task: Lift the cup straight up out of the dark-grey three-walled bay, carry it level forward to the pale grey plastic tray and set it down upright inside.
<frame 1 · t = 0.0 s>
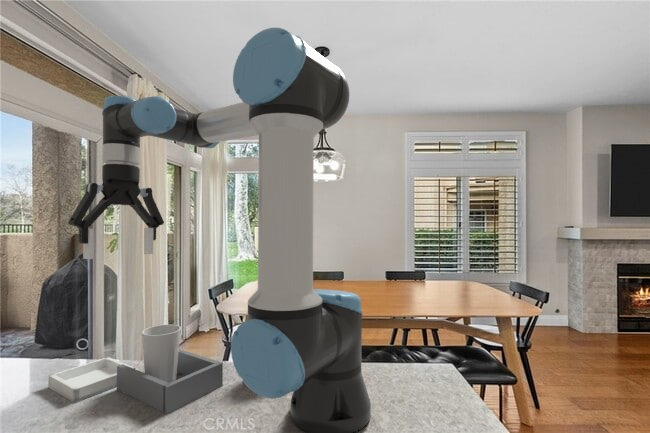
hand: (120, 256, 81), 28 cm above the countertop, fingers open, 13 cm apart
tray: (93, 383, 78), on the countertop
bay: (161, 383, 78), on the countertop
cup: (161, 384, 77), on the countertop
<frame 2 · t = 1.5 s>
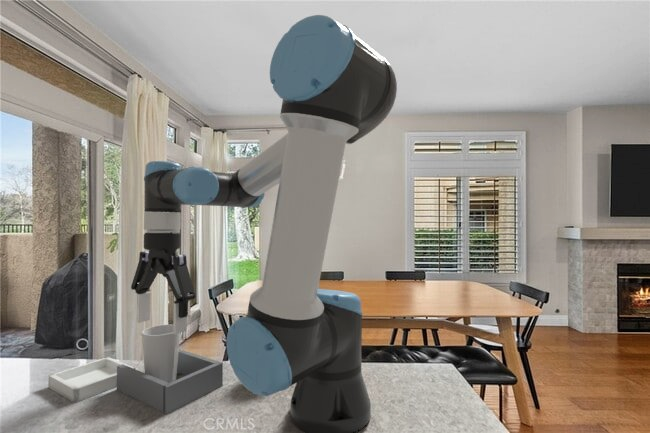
hand: (160, 326, 78), 13 cm above the countertop, fingers open, 13 cm apart
nothing on the countertop moved.
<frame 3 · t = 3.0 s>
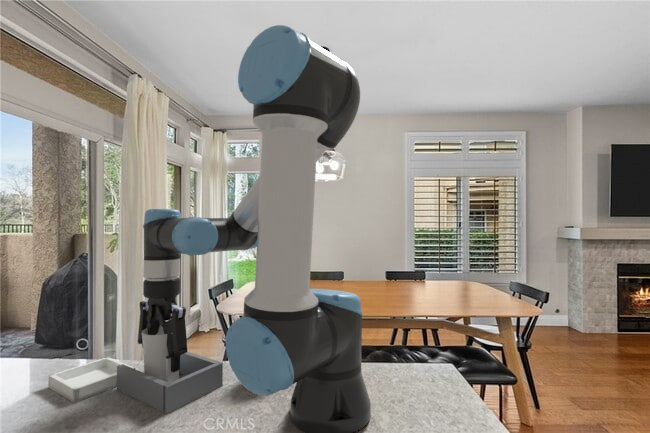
hand: (161, 380, 78), 1 cm above the countertop, fingers closed on cup, 7 cm apart
cup: (161, 384, 78), on the countertop, touching gripper
everything else where it was.
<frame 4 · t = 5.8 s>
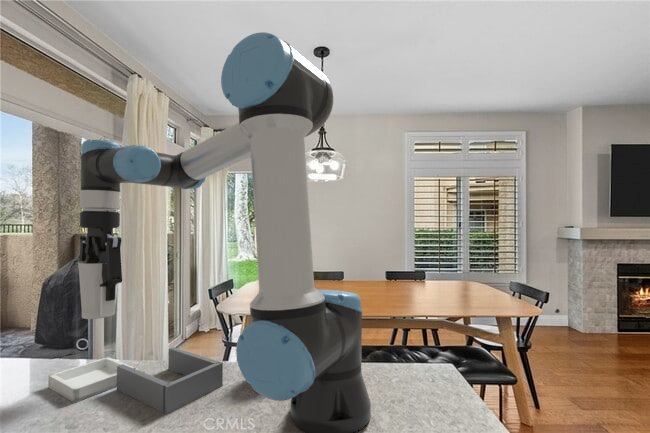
hand: (98, 312, 78), 16 cm above the countertop, fingers closed on cup, 7 cm apart
cup: (98, 315, 78), point 15 cm above the countertop, touching gripper
everything else where it was.
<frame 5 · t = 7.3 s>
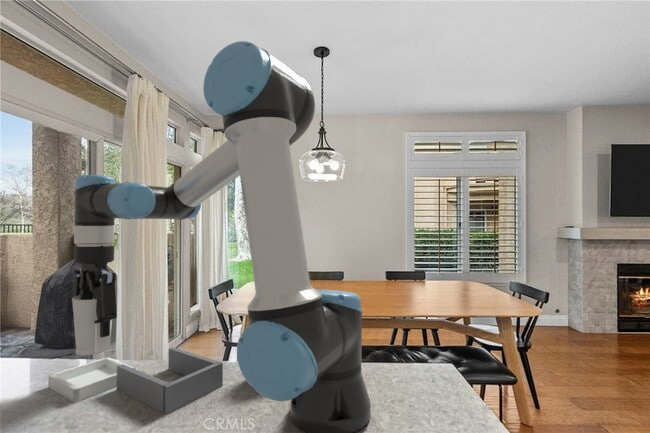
hand: (93, 347, 78), 8 cm above the countertop, fingers closed on cup, 7 cm apart
cup: (93, 350, 78), point 7 cm above the countertop, touching gripper
everything else where it was.
when the fingers open (3 cm above the countertop, at t = 8.6 s): cup drops 2 cm, resting on tray.
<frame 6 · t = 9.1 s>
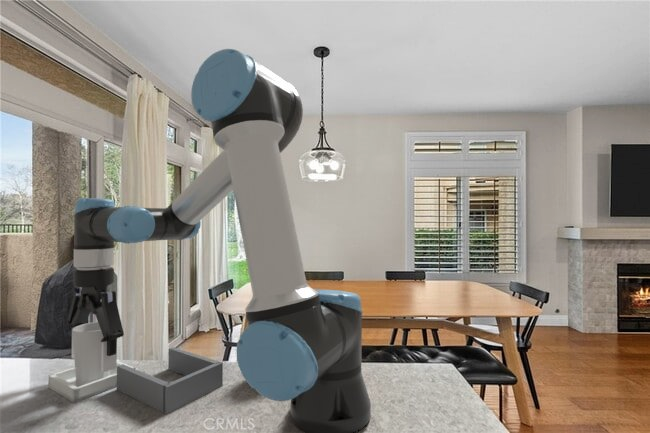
hand: (93, 363, 78), 4 cm above the countertop, fingers open, 13 cm apart
cup: (93, 381, 78), resting on tray
everything else where it was.
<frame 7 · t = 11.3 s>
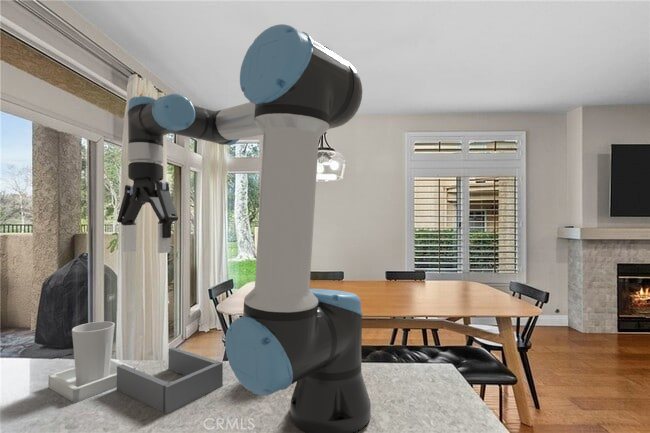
hand: (146, 252, 83), 29 cm above the countertop, fingers open, 13 cm apart
nothing on the countertop moved.
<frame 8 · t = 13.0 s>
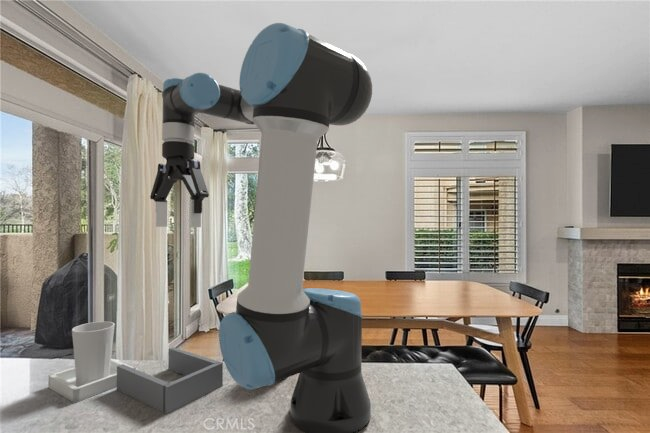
hand: (177, 227, 88), 35 cm above the countertop, fingers open, 13 cm apart
nothing on the countertop moved.
at the end: cup inside the target area on the tray (0.0 cm from its centre), point 0.4 cm above the tray's base; cup tilted 0°; the gripper is holding nothing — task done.
